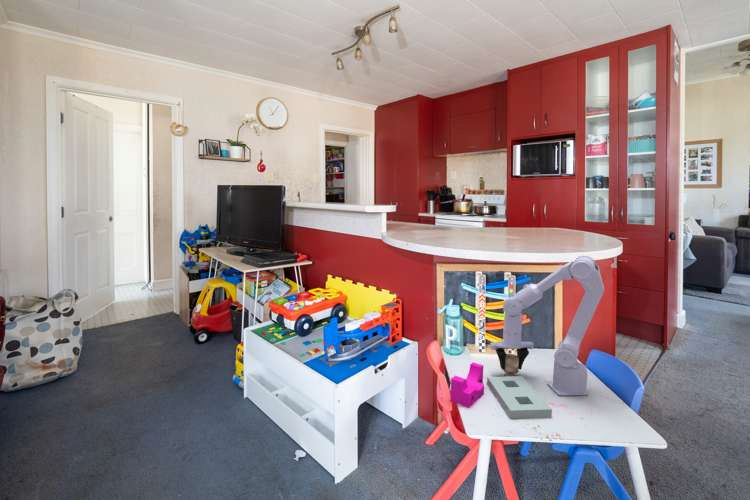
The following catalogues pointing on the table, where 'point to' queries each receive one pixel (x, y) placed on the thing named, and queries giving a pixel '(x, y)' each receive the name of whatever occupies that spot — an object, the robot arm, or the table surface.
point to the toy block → (468, 386)
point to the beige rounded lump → (511, 364)
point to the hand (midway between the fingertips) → (510, 368)
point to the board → (518, 397)
